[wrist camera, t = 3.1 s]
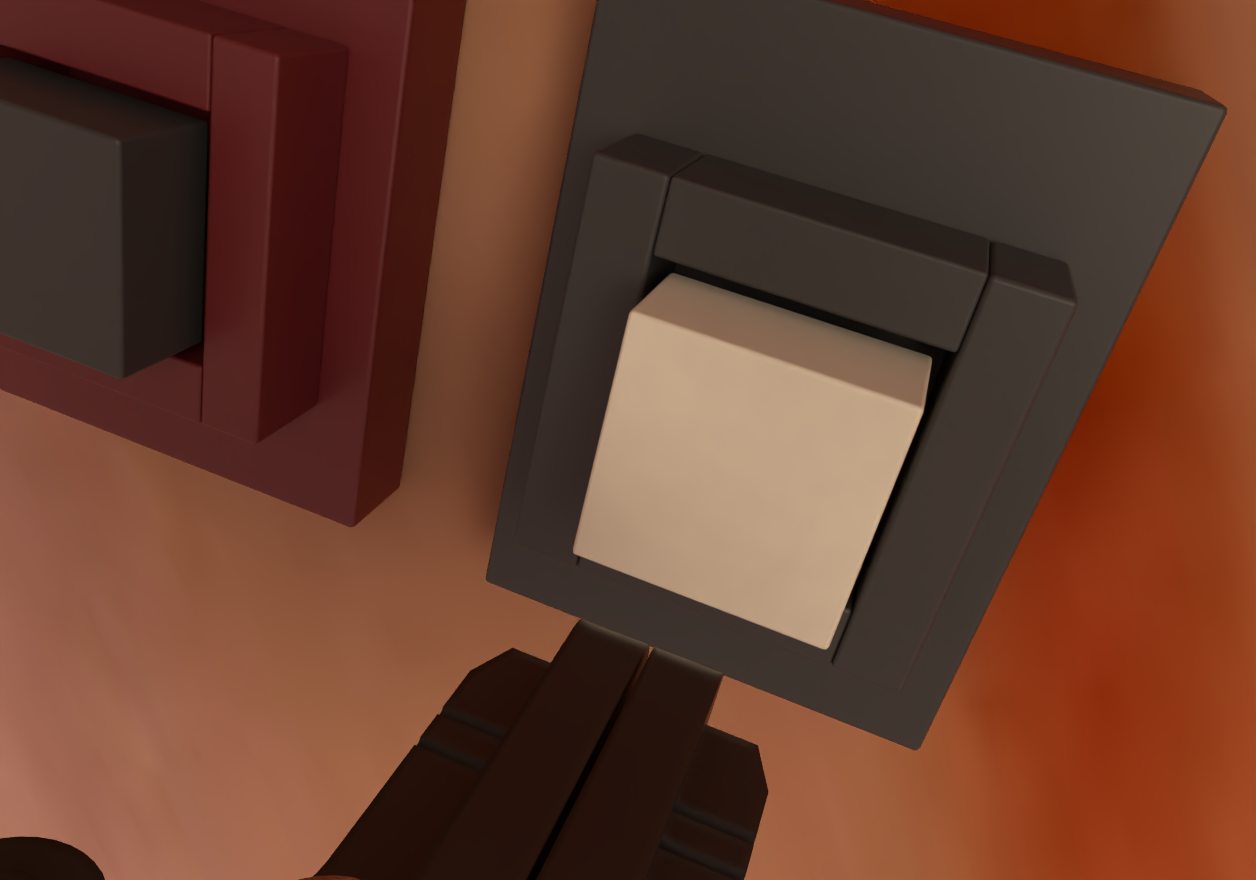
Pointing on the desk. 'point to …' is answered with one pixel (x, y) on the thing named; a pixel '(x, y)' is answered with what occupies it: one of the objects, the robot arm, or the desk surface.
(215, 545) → the desk surface
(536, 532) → the dark gray stepped base
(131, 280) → the black key
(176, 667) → the desk surface
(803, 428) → the ivory key
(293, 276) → the maroon stepped base
